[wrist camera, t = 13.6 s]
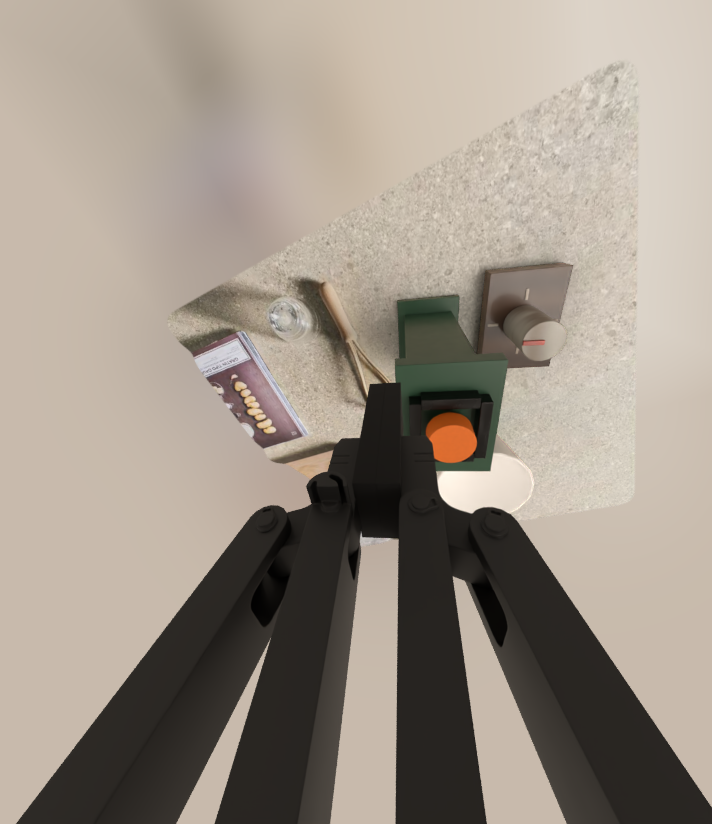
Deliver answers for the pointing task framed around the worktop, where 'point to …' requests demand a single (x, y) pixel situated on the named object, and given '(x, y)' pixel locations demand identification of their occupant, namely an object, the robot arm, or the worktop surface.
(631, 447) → the worktop surface
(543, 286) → the dial panel
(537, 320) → the dial
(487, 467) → the control post
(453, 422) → the button
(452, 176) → the worktop surface
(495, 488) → the cup
